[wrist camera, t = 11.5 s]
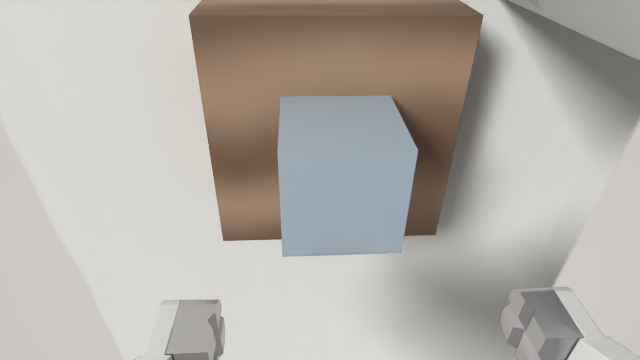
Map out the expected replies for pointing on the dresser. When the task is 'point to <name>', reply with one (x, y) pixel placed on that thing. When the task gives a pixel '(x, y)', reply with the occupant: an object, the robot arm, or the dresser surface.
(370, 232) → the slate block
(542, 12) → the supplement box
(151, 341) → the robot arm
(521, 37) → the dresser surface
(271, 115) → the walnut base
